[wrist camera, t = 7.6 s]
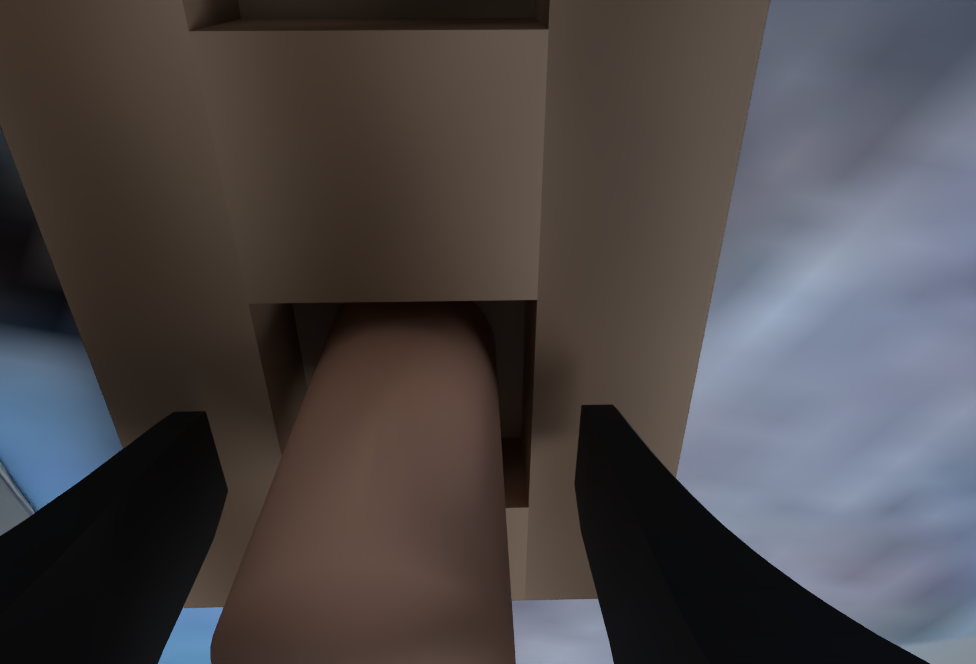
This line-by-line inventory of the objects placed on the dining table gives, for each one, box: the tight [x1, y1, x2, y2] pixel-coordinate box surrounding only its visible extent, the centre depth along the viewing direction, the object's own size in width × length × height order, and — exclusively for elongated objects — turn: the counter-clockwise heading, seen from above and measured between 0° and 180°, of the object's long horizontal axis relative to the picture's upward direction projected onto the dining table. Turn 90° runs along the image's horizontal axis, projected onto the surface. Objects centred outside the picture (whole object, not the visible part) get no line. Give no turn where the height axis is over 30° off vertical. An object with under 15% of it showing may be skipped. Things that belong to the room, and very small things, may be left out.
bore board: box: [0, 0, 770, 608], centre depth 12 cm, size 12×22×3 cm, turn 0°
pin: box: [210, 301, 516, 664], centre depth 12 cm, size 4×4×8 cm
